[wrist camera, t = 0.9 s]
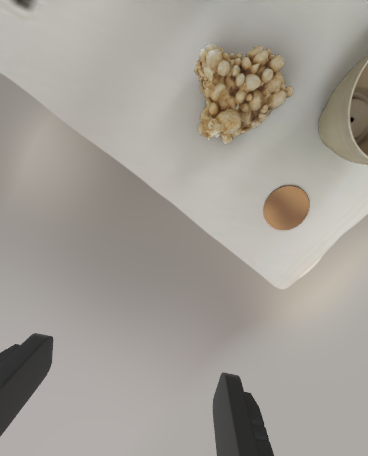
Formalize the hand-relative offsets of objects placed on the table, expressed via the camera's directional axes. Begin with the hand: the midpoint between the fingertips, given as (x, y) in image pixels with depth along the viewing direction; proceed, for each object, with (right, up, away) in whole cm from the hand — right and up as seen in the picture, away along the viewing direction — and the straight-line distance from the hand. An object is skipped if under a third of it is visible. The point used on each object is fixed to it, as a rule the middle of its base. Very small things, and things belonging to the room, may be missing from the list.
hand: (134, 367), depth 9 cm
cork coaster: (+23, +10, +29) cm, 39 cm away
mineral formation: (+12, +29, +25) cm, 40 cm away
